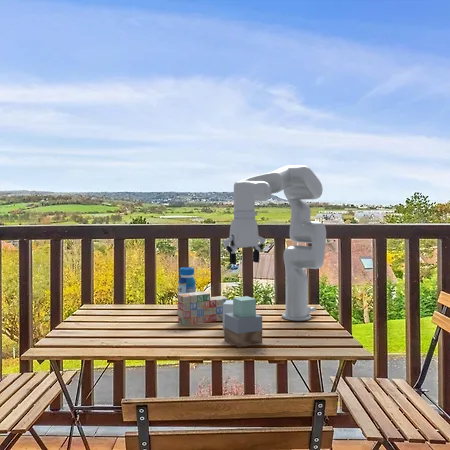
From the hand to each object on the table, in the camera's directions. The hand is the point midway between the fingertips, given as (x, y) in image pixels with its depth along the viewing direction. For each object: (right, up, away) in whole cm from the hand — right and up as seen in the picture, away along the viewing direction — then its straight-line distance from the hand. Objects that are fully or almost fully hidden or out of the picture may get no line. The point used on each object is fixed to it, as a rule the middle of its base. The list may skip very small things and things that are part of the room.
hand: (244, 263), depth 166 cm
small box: (-5, -28, +19) cm, 34 cm away
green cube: (0, -19, +1) cm, 19 cm away
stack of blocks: (-16, -27, +31) cm, 44 cm away
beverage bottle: (-25, -26, +49) cm, 61 cm away
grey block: (0, -24, +1) cm, 24 cm away
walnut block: (-1, -29, +1) cm, 29 cm away
